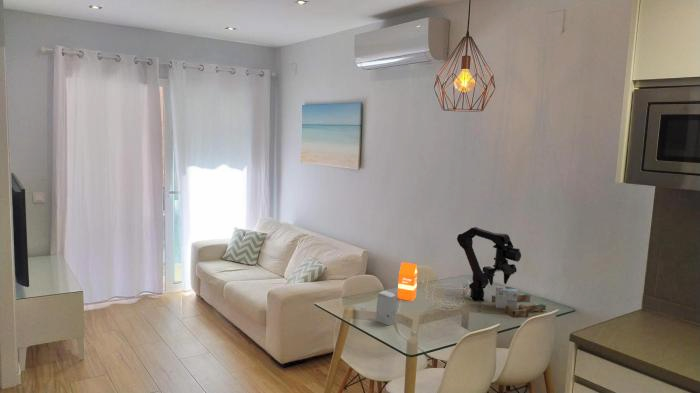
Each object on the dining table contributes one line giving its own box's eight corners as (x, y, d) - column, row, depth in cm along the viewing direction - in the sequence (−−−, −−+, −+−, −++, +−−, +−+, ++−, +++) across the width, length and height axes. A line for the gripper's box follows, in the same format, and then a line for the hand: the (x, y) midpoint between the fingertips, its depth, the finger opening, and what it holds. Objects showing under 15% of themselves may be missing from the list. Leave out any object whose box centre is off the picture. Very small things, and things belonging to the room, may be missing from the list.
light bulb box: (513, 305, 281) (515, 286, 279) (516, 309, 274) (518, 290, 272) (494, 303, 282) (495, 285, 280) (496, 308, 275) (498, 289, 273)
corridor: (511, 317, 263) (512, 309, 262) (491, 301, 285) (492, 294, 285) (551, 316, 267) (552, 308, 267) (528, 300, 290) (529, 293, 289)
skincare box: (375, 321, 250) (376, 292, 248) (382, 317, 254) (384, 289, 252) (389, 326, 245) (390, 296, 242) (396, 322, 249) (397, 293, 247)
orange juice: (412, 300, 280) (414, 266, 277) (397, 298, 284) (399, 263, 280) (416, 296, 288) (418, 262, 284) (401, 294, 291) (403, 260, 288)
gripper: (496, 262, 264) (493, 290, 266) (524, 260, 270) (521, 288, 273) (483, 256, 274) (480, 284, 276) (511, 254, 281) (508, 281, 283)
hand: (498, 284), depth 277 cm, fingers open, 9 cm apart
